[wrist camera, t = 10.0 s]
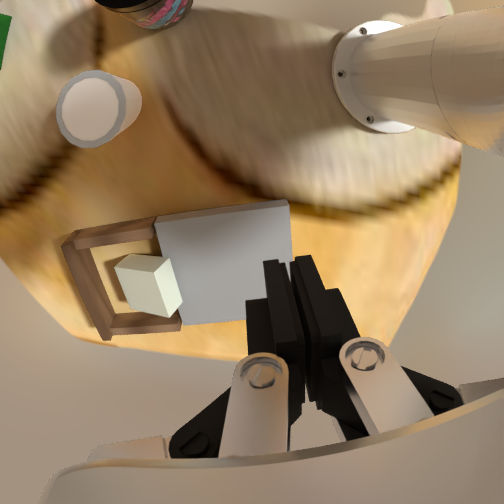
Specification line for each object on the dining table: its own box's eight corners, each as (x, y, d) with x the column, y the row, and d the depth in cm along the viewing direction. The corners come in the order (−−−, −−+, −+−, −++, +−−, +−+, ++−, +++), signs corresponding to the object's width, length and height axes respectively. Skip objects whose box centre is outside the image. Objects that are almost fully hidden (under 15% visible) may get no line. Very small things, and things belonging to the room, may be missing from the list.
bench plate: (286, 199, 34) (289, 205, 32) (292, 303, 41) (295, 313, 39) (158, 216, 34) (154, 223, 32) (185, 315, 41) (183, 325, 39)
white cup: (155, 77, 27) (135, 75, 21) (139, 141, 30) (116, 155, 24) (95, 68, 26) (63, 66, 20) (82, 130, 29) (49, 142, 23)
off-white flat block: (169, 257, 34) (153, 272, 31) (182, 301, 37) (169, 317, 34) (129, 253, 36) (113, 267, 34) (144, 294, 39) (130, 308, 37)
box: (155, 216, 34) (146, 232, 31) (183, 315, 41) (179, 336, 37) (75, 230, 34) (60, 246, 31) (110, 321, 41) (102, 340, 37)
